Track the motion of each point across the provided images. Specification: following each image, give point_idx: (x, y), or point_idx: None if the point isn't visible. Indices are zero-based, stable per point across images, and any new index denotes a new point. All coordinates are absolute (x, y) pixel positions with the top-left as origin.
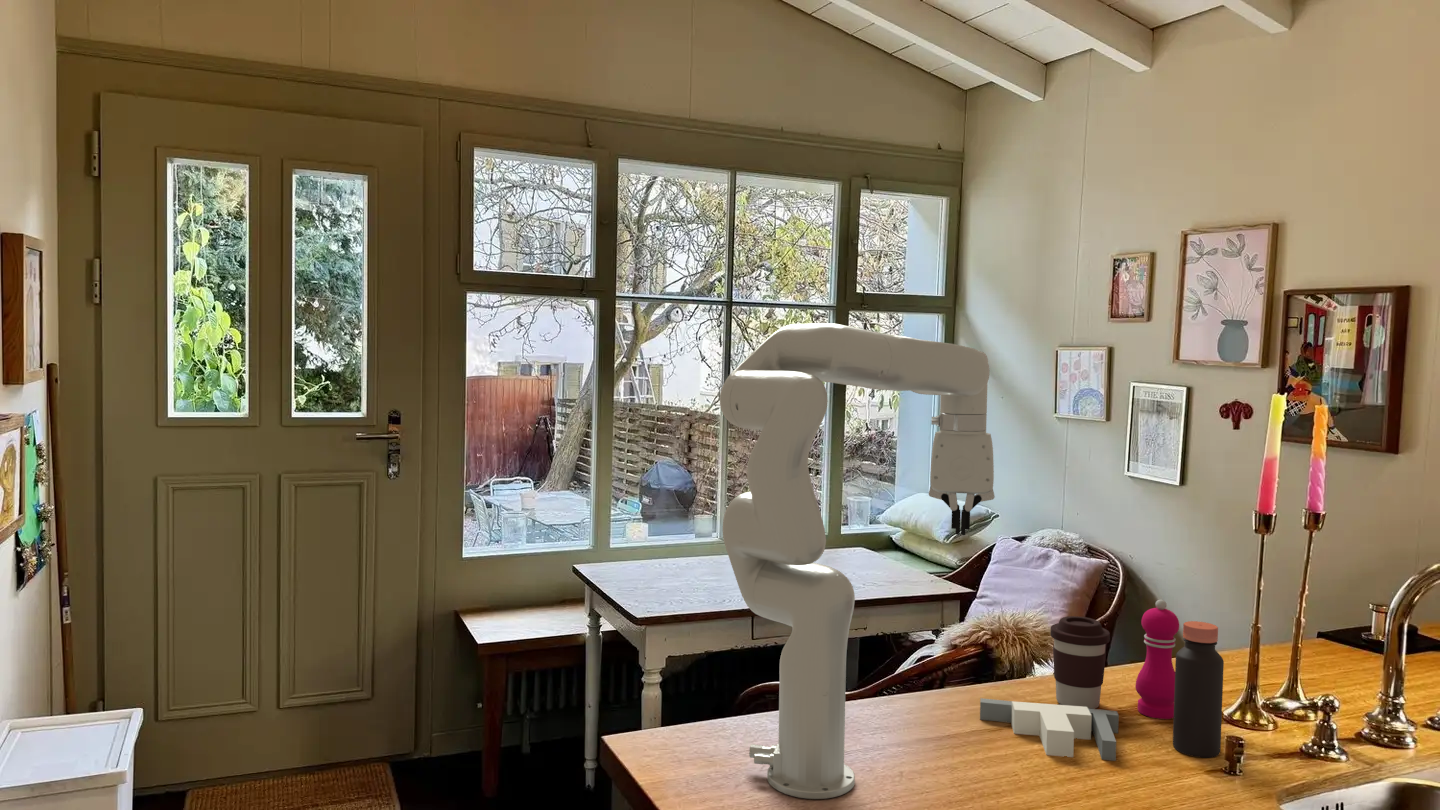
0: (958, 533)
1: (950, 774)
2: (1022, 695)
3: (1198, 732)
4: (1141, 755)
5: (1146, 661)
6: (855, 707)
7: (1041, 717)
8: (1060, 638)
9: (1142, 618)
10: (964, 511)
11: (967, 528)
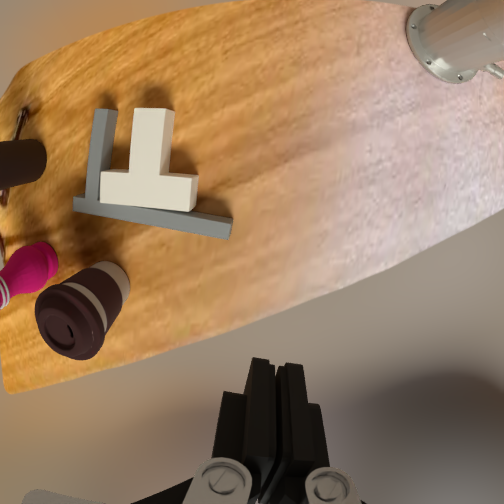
0: (287, 363)
1: (303, 46)
2: (166, 306)
3: (20, 140)
4: (78, 133)
5: (20, 280)
6: (385, 249)
7: (161, 160)
8: (91, 305)
9: None
10: (255, 456)
11: (235, 393)
